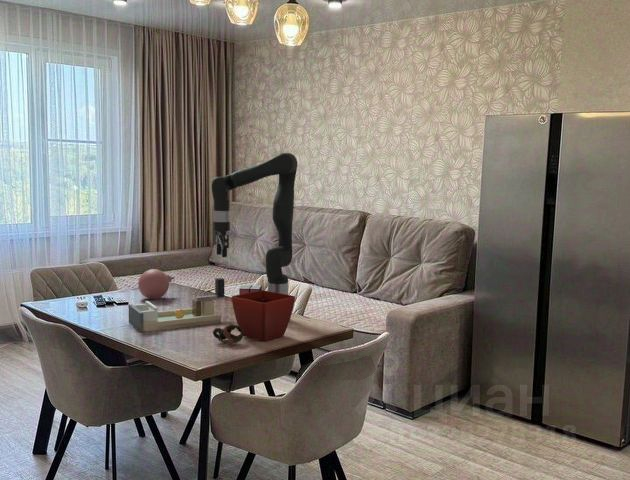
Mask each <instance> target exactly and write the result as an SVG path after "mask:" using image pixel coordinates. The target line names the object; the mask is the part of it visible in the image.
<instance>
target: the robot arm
mask: <svg viewBox="0 0 630 480" xmlns="http://www.w3.org/2000/svg"><path fill="white" fill-rule="evenodd" d="M297 169H298V159H297V158H296V156H295V155H294V154H292V153H290V152H283V153H280V154H278V155H275V156H274V157H273V158H270V159H269V160H267V161H265V162H262V163H259V164H257V165H256V164H255V165H252V166H248V167H245V168H241V169H239V170H236V171H234V172H233V173H231V174H228V175H224V176H216V177H214V178H213V180H212V182H211V193H212V194H211V195H212V198H213V215H212V216H213V218H212V222H213V223H212V225H213V227H212V228H213V231H214V245H215V247H216V255H217V256H219V255H220V256H221V257H222V258H227V257H228V248H229V247H230V240H229V239H230V236H229V234H227V232H230V230H231V213H230V200H229V198H228V196H227V192H230V191H232V190H234V189H237V188H239V187H243V186H246V185H249V184H253V183H254V182H257V181H259V180H261V179H264V178H267V177H270V176H275V175H277V176H278V185H277V188H276V193H275V195H274V199H273V204H272V221H273V224H274V226H275V229H276V230H277V234H278V245H277V246H275V247H271V248H268V250H266V251H267V252H266V253H265V254H266V255H265V274H266V277H267V291H270V292H276V293H281V294H286V295H289V276H288V275H286V274H284V272H283V270H282V269H283V268H284V267H287V266H289V265H290V264H291V263H292V260H293V221H294V220H293V219H294V205H295V181H296V177H297V176H296V175H297Z"/></svg>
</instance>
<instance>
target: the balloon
mask: <svg viewBox="0 0 630 480" xmlns="http://www.w3.org/2000/svg"><path fill="white" fill-rule="evenodd" d="M172 280H175V277H174V276H170V274H166V273H165V272H164V271H162V270H160V269H156V268H151V269H148V270H146V271H144V272H143V273H142V274H141V275H140V277H139V278H138V285H137V286H138V290H139V292H140V293H141V295H142V296H143V297H145V298H147V299H150V300H156V299H160V298H162V297H163V296H165V295H166V294H167V292H168V290H169V288H170V287H169V286H170V283H172Z"/></svg>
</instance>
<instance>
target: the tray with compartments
mask: <svg viewBox="0 0 630 480" xmlns="http://www.w3.org/2000/svg"><path fill="white" fill-rule="evenodd" d="M149 309H152V310H149ZM182 309H183V310H184V312H185V315H184V317H183V318H180V319H178V318H176V317H175V315H174V313H175V311H176V310H177V309H170V310H159V311H158V307H157V306H156V305H154V304H153V303H151V301H148V300H145V301H144V303H140V304H133V303H132V304H131V303H129V304H128V323H129V324H130V325H131V326H132V325H133V326H132V327H133V328H134V329H136V331H138V332H139V333H144V331H145V332H151V331H153V332H154V331H161V330H169V329H178V328H185V327H193V326H194V327H195V326H203V325H212V324H220V323H222V314H219V313H218V314H215V300H209V301H201V316H199V317H195V316H194V315H192V307H189V308H182Z"/></svg>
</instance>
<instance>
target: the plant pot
mask: <svg viewBox="0 0 630 480" xmlns="http://www.w3.org/2000/svg"><path fill="white" fill-rule="evenodd" d="M295 300H296V296H295V295H290V294H288V295H286V294H281V293H276V292H270V291H268V290H264V289H262V290H261V291H256V292H251V293H245V294H240V295H239V294H235V295H231V301H232V308H233V313H234V316H235V321H236V325H237V326H239V327H240V328H241V329H242V330H243V338H244V337H245V338H249V339H253V340H255V341H260V342H266V341H271V340H275V339H278V338H281V337H284V336H285V333H286V331H287V329H288V325H289V323H290V320H291V317H292V313H293V310H294V306H295Z"/></svg>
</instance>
